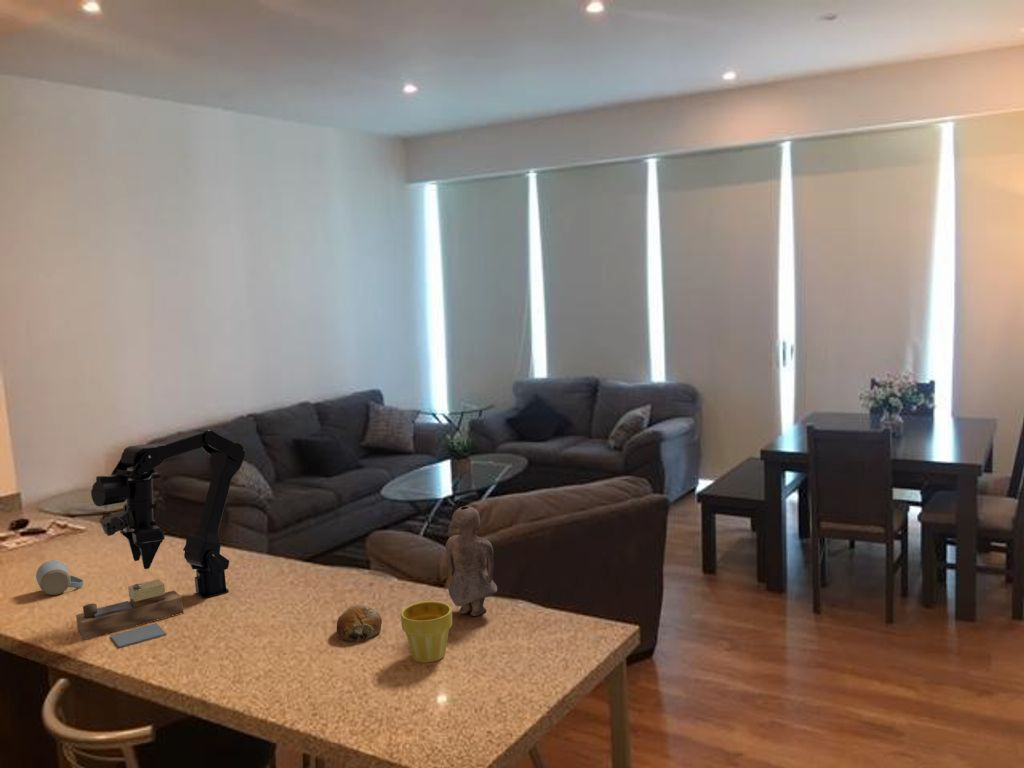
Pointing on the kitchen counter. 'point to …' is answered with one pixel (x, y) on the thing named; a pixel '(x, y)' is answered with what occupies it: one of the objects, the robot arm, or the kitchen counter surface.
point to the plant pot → (427, 629)
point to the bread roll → (358, 623)
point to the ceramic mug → (56, 578)
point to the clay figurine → (469, 563)
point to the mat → (138, 635)
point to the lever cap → (146, 590)
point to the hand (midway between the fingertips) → (141, 564)
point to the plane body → (126, 614)
